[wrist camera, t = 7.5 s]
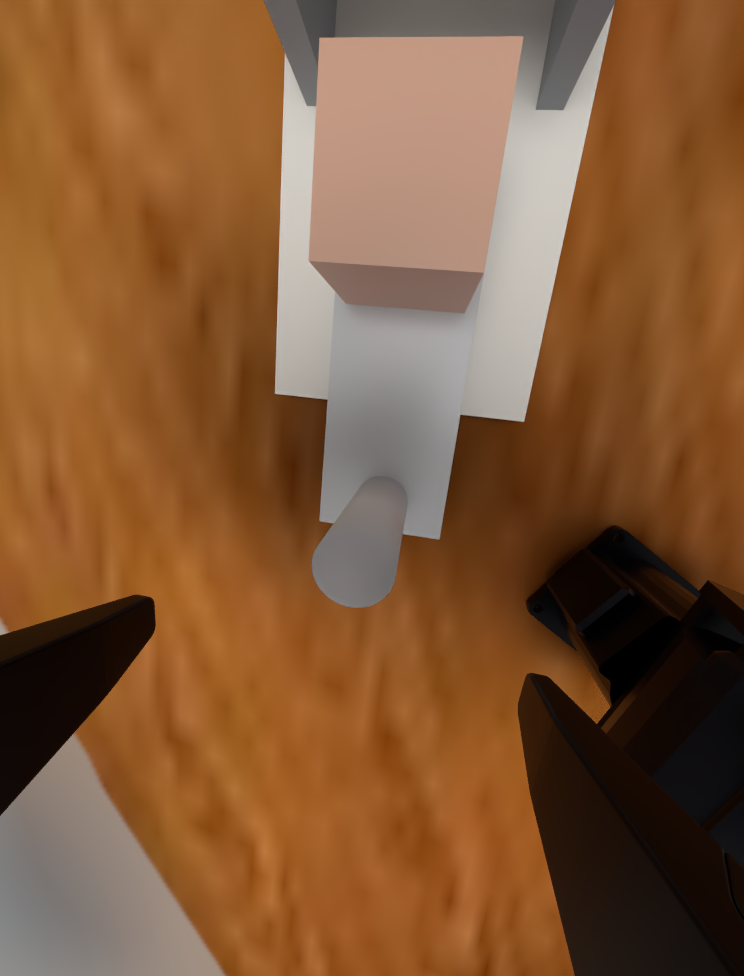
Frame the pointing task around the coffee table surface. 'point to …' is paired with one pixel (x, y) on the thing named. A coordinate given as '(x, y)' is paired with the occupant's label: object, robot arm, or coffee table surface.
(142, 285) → the coffee table surface
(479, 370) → the board
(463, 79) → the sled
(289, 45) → the tunnel
